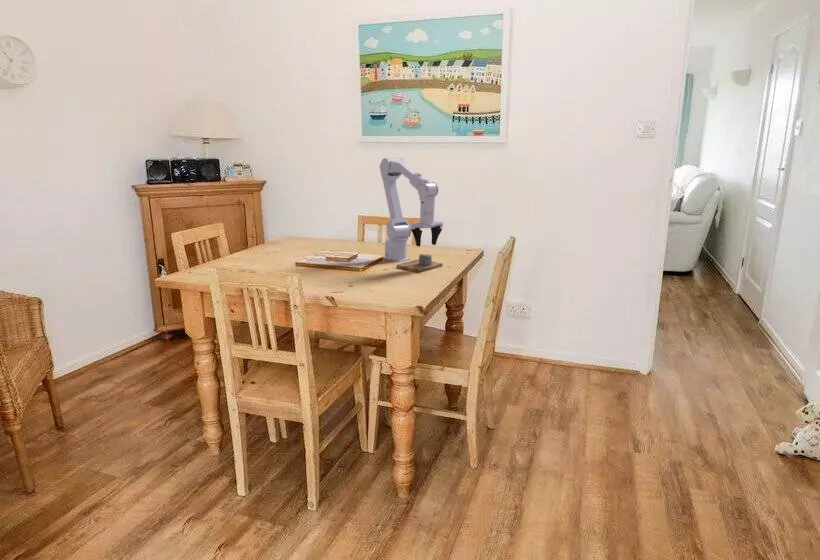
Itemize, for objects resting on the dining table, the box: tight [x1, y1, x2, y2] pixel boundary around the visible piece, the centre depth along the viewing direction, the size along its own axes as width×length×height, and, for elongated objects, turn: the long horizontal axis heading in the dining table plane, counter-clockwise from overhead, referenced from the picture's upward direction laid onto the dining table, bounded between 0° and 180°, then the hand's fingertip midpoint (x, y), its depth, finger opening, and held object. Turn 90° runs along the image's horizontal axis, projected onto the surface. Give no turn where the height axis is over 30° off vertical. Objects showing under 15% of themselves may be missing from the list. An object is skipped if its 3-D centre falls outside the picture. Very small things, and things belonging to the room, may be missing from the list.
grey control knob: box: [418, 253, 433, 266], centre depth 235 cm, size 5×5×4 cm
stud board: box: [396, 258, 444, 274], centre depth 235 cm, size 12×16×4 cm
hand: (426, 245), depth 233 cm, fingers open, 7 cm apart
